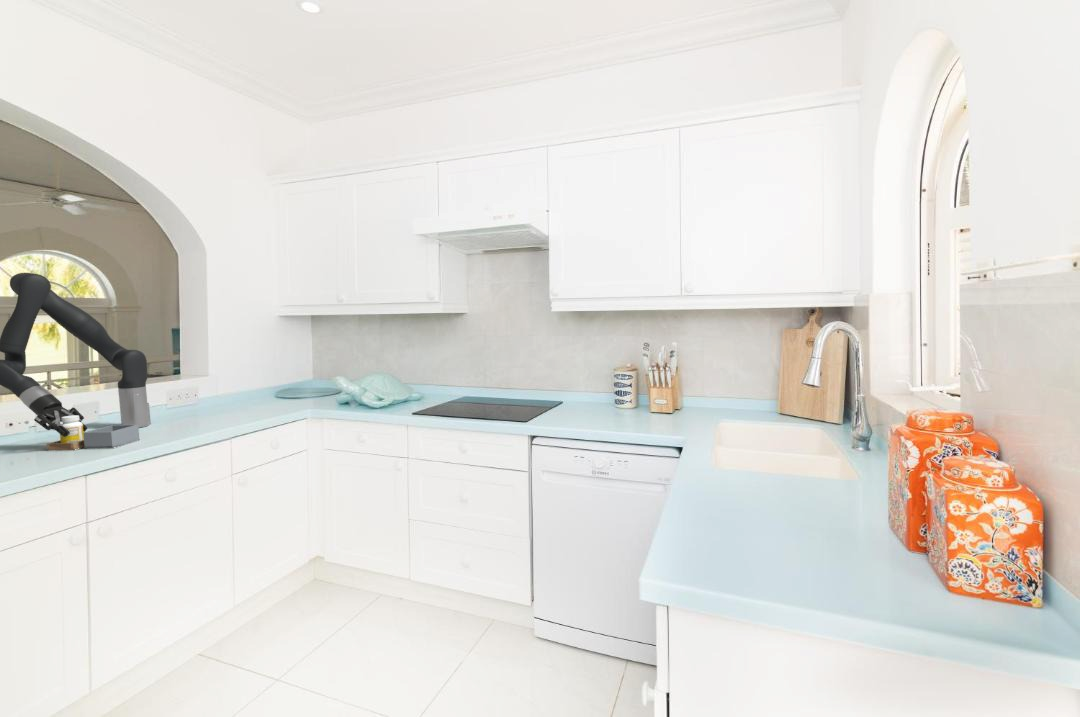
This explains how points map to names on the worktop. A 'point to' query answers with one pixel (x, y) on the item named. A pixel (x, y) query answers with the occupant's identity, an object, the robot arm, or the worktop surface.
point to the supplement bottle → (72, 429)
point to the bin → (111, 436)
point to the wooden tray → (65, 445)
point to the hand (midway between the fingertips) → (76, 432)
